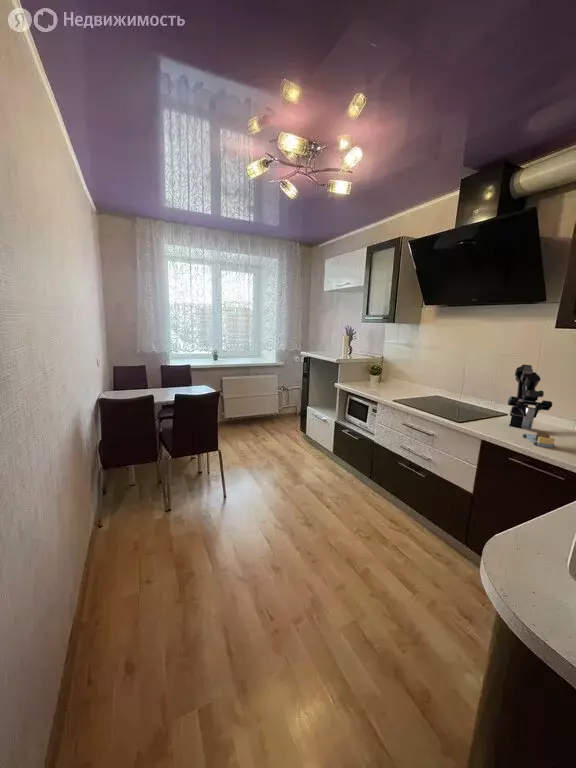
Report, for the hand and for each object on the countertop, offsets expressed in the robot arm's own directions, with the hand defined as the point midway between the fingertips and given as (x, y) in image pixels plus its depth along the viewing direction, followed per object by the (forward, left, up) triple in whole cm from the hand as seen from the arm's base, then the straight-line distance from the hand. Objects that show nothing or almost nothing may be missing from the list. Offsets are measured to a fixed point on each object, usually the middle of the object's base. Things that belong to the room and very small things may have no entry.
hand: (529, 416), depth 168 cm
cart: (+5, +4, -14) cm, 15 cm away
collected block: (+7, +1, -12) cm, 14 cm away
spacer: (0, +1, -7) cm, 7 cm away
